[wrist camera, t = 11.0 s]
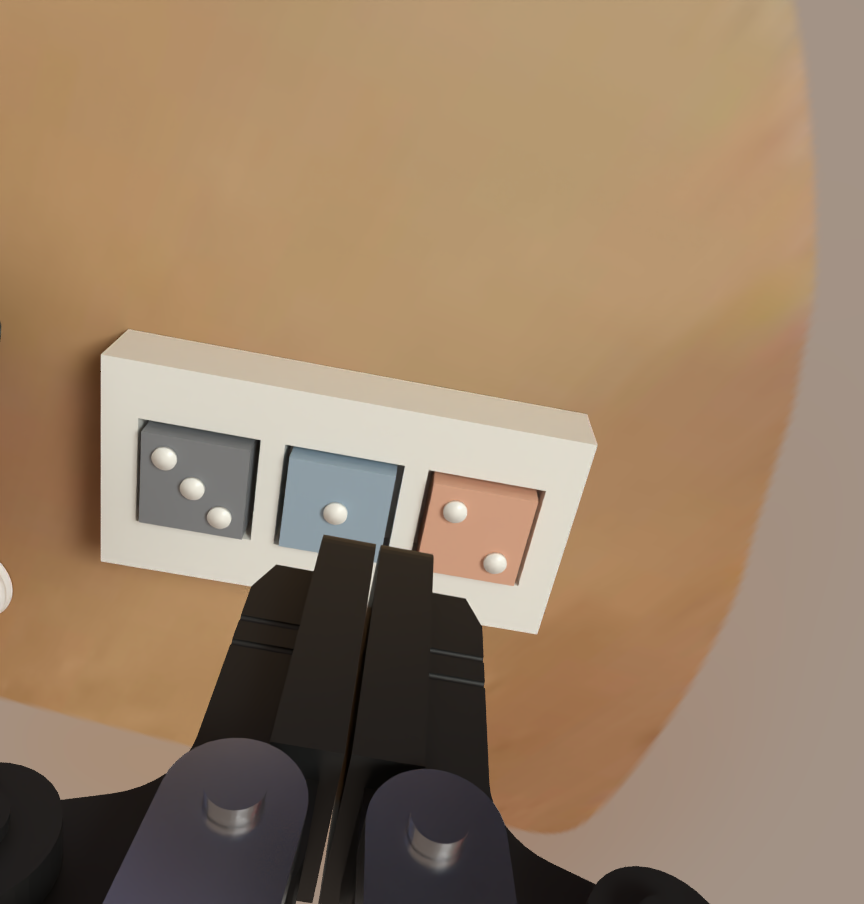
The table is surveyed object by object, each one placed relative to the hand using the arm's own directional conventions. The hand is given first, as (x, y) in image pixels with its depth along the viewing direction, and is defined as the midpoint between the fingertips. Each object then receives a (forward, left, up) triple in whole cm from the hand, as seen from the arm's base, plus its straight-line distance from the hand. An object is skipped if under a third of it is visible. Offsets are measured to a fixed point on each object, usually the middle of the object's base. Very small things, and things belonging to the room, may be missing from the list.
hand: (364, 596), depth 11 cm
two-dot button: (+4, -12, -23) cm, 26 cm away
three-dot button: (-7, -12, -23) cm, 27 cm away
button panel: (-1, -12, -24) cm, 27 cm away
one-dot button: (-1, -12, -23) cm, 26 cm away
